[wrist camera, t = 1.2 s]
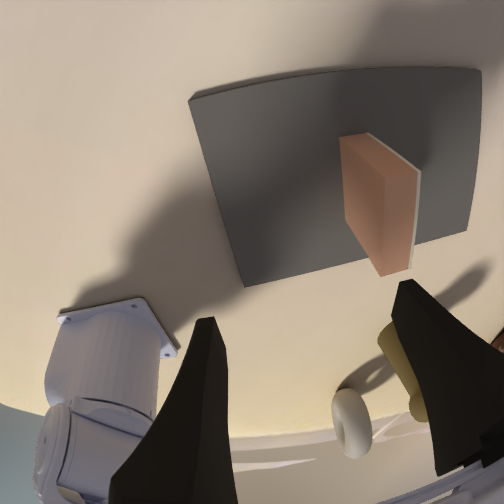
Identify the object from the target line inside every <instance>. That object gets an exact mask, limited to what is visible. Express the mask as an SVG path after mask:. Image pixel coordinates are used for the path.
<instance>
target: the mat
mask: <svg viewBox="0 0 504 504" xmlns="http://www.w3.org/2000/svg"><path fill="white" fill-rule="evenodd" d="M188 104H189V107H190V111H191V114H192V118H193V121H194V124H195V128H196V131H197V135H198V138H199V141H200V145H201V148H202V151H203V155H204V158H205V162H206V165H207V168H208V172H209V175H210V178H211V182H212V185H213V188H214V191H215V195H216V198H217V201H218V205H219V208H220V211H221V214H222V218H223V221H224V224H225V227H226V231H227V234H228V237H229V240H230V243H231V247H232V250H233V253H234V256H235V259H236V263H237V266H238V269H239V272H240V275H241V278H242V282H243V285H244V288H245V287H250V286H254V285H258V284H263V283H267V282H271V281H276V280H280V279H284V278H288V277H292V276H297V275H301V274H305V273H309V272H313V271H317V270H321V269H325V268H329V267H333V266H337V265H341V264H345V263H349V262H353V261H357V260H361V259H365V258H369V257H368V255H367V254H366V252H365V250H364V249H363V247H362V246H361V244H360V242H359V241H358V239H357V238H356V236H355V234H354V233H353V231H352V230H351V228H350V227H349V225H348V223H347V222H346V220H345V209H344V192H343V178H342V166H341V154H340V144H339V137H343V136H349V135H356V134H362V133H370V134H371V135H373V136H374V137H376V138H377V139H378V140H380V141H381V142H383V143H384V144H386V145H387V146H388V147H390V148H391V149H392V150H394V151H395V152H397V153H398V154H399V155H401V156H402V157H403V158H405V159H406V160H407V161H408V162H410V163H411V164H412V165H414V166H415V167H416V168H417V169H419V170H420V171H421V183H420V197H419V209H418V219H417V228H416V236H415V244H414V245H417V244H421V243H424V242H428V241H432V240H435V239H439V238H442V237H446V236H449V235H453V234H456V233H460V232H463V231H467V226H468V221H469V216H470V211H471V205H472V199H473V193H474V187H475V180H476V173H477V164H478V155H479V144H480V131H481V109H482V75H481V71H480V70H477V69H465V68H448V67H384V68H366V69H353V70H342V71H332V72H324V73H316V74H308V75H301V76H295V77H288V78H282V79H277V80H271V81H266V82H261V83H256V84H251V85H246V86H242V87H237V88H233V89H228V90H224V91H220V92H216V93H212V94H208V95H205V96H201V97H197V98H194V99H190V100H188Z"/></svg>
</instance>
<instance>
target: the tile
mask: <svg viewBox="0 0 504 504" xmlns="http://www.w3.org/2000/svg"><path fill="white" fill-rule="evenodd" d="M339 144H340V154H341V166H342V178H343V192H344V209H345V220H346V222H347V223H348V225H349V227H350V228H351V230H352V231H353V233H354V234H355V236H356V238H357V239H358V241H359V242H360V244H361V246H362V247H363V249H364V250H365V252H366V254H367V255H368V257H369V259H370V260H371V262H372V264H373V265H374V267H375V269H376V270H377V272H378V274H379V275H380V277H382V276H386V275H389V274H393V273H396V272H400V271H403V270H406V269H410V268H411V265H412V258H413V251H414V244H415V236H416V228H417V219H418V209H419V197H420V183H421V171H420V170H419V169H417V168H416V167H415V166H414V165H412V164H411V163H410V162H408V161H407V160H406V159H405V158H403V157H402V156H401V155H399V154H398V153H397V152H395V151H394V150H392V149H391V148H390V147H388V146H387V145H386V144H384V143H383V142H381V141H380V140H378V139H377V138H376V137H374V136H373V135H371V134H370V133H362V134H356V135H349V136H343V137H339Z"/></svg>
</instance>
